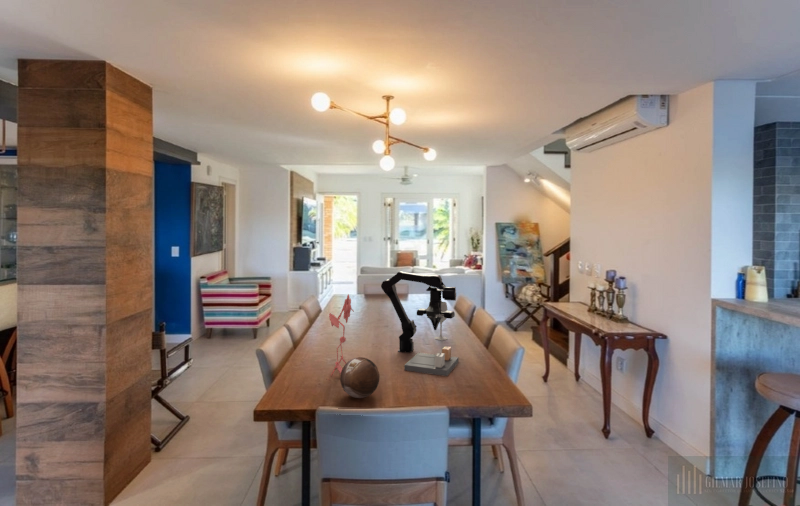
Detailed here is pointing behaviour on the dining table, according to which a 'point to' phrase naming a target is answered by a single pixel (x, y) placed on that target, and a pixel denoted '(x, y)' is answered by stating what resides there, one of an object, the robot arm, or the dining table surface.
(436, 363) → the white fader
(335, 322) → the figurine
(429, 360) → the console board
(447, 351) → the orange fader
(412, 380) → the dining table surface
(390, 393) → the dining table surface
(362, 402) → the dining table surface
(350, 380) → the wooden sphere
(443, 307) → the wineglass
